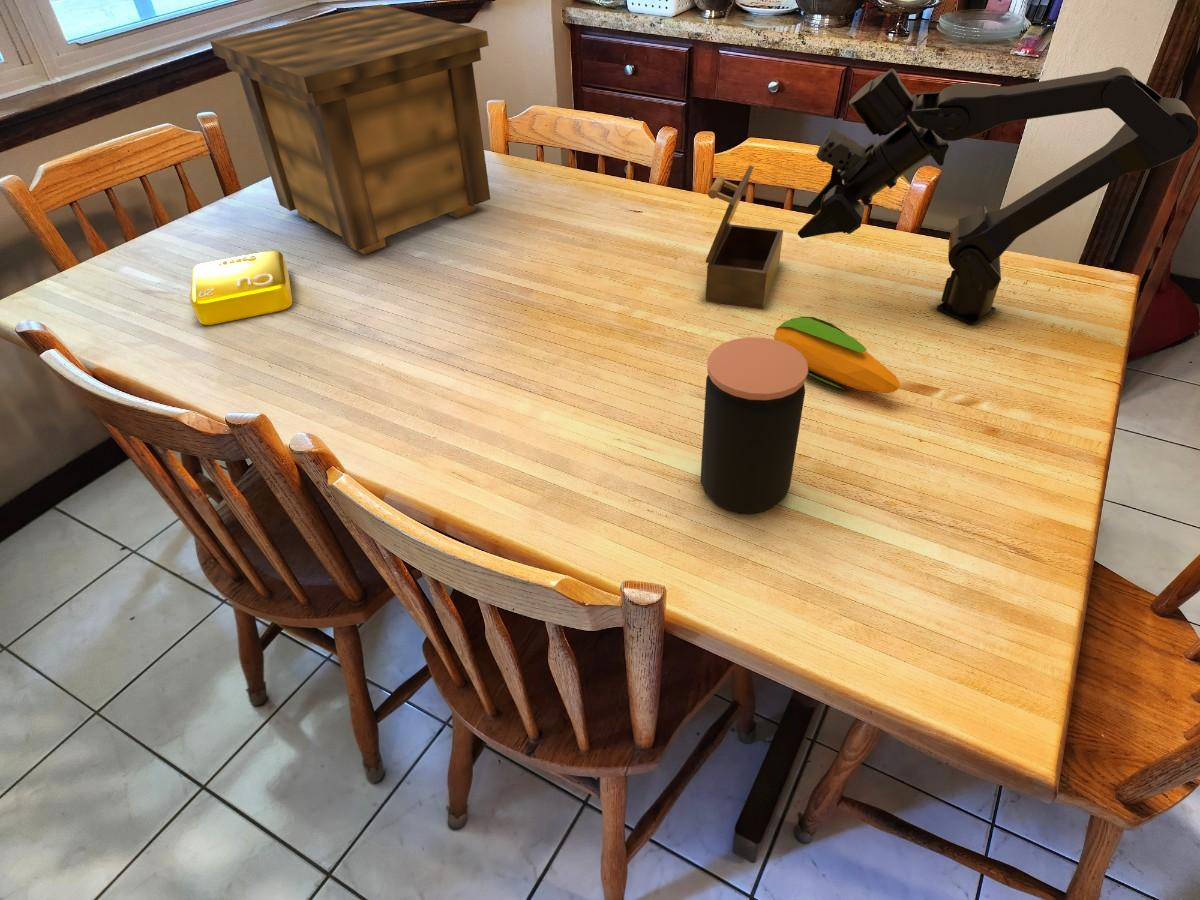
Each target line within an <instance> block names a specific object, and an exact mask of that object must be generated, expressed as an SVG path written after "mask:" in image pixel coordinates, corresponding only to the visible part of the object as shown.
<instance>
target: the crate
mask: <svg viewBox="0 0 1200 900" xmlns="http://www.w3.org/2000/svg"><path fill="white" fill-rule="evenodd" d="M488 36H489V35H488V31H487V30H484V29H480V28H476V27H472V26H469V25H464V24H461V23H456V22H453V21H448V20H444V19H441V18H436V17H433V16H430V15H429V16H428V15H425V14H421V13H417V12H413V11H410V10H409V11H408V10H404V9H401V8H397V7H393V6H389V5H385V4H377V5H371V6H367V7H362V8H358V9H352V10H348V11H343V12H339V13H334V14H329V15H325V16H320V17H315V18H311V19H306V20H302V21H296V22H291V23H287V24H282V25H278V26H274V27H269V28H264V29H260V30H254V31H250V32H246V33H241V34H236V35H231V36H226V37H223V38H222V37H221V38H218V39H213V40H210V41H209V42H210V45H211V49H212V51H213V55H214V56H215V57H218V58H220V59H222V60H225V63H226V66H227V69H228V70H229V71H232V72H235V73H237V74H238V76H239V80H240V83H241V86H242V89H243V92H244V95H245V98H246V101H247V104H248V108H249V111H250V113H251V118H252V120H253V124H254V128H255V130H256V133H257V137H258V139H259V143H260V146H261V149H262V152H263V156H264V159H265V162H266V165H267V169H268V172H269V175H270V178H271V182H272V185H273V187H274V191H275V195H276V198H277V201H278V203H279V206H281V207H283V208H284V209H286V210H288V211H289V212H292V211H295V210H296V211H297V214H298V215H299V216H300V217H301V218H302V219H304V220H306V221H308V222H309V223H311V222H314V221H315V222H317V223H318V224H320V225H322V226H323V227H324V228H327V229H328V230H330V231H331V232H333V233H334V234H336V235H338V236H340V237H341V238H342V241H343V244H344V245H346V246H347V247H348V248H351V249H352V250H354V251H356V252H359V253H361V255H364V256H365V255H367V254H369V253H372V252H376V251H378V250H380V249H383V248H384V247H387V244H386V239H385V238H386V237H388V236H392V235H394V234H396V233H400V232H402V231H404V230H406V229H407V230H408V229H409V228H412V227H415V226H418V225H420V224H423V223H425V222H429V221H430V220H433V219H436V218H438V217H440V216H443V215H445V214H447V215H449V216H451V217H453V218H455V219H458V218H462V217H464V216H466V215H469V214H471V213H474V212H476V211H477V210H476V206H477V205H479V204H482V203H484V202H487V201H490V200H491V193H490V186H489V178H488V171H487V170H488V169H487V163H486V156H485V148H484V140H483V133H482V124H481V117H480V110H479V103H478V102H479V101H478V95H477V87H476V79H475V71H474V65H473V63H476V62H480V61H482V56H481V49H482V48H485V47H489V46H490V44H489V37H488Z"/></svg>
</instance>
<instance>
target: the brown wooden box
mask: <svg viewBox="0 0 1200 900" xmlns="http://www.w3.org/2000/svg"><path fill="white" fill-rule="evenodd" d="M783 235H784V230H783V229H778V228H777V229H776V228H769V227H768V228H767V227H759V226H750V225H741V224H731V223H730V225H729V227H728V229H727V231H726V233H725V235H724V237H723V239H722V241H721V243H720V245H719V247H718V249H717V251H716V252H715V254H714V256H713V258H712V260H711V262H710V264H709V263H707V266H706V282H705V283H706V284H705V302H709V303H710V302H711V303H715V304H724V305H731V306H737V307H746V308H754V309H758V310H759V309H761V310H764V308H765V304H766V302H767V299H768V296H769V293H770V290H771V288H772V285H773V283H774V280H775V278H776V274H777V272H778V269H779V267H780V263H781V261H780V260H781V253H782V244H783V237H784V236H783Z"/></svg>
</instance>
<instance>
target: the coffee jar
mask: <svg viewBox="0 0 1200 900" xmlns="http://www.w3.org/2000/svg"><path fill="white" fill-rule="evenodd" d="M706 369H707V375H706V379H705V394H704V410H703V411H704V412H703V429H702V445H701V462H700V481H699V482H700V484H701V486H702V489H703V491H704V493H705V494H706V495H707V496H708V498H710V500H711V501H712V502H713V503H714V504H715V505H717V506H719V507H720V508H722V509H724V510H726V511H728V512H732V513H736V514H741V515H743V514H744V515H754V514H760V513H764V512H766V511H768V510H771V509H772V508H775V507H776V506H777V505H778V504H779V503H781V501H783V499H785V497H786V496H787V495H788V492H789V490H790V488H791V483H792V477H793V470H794V464H795V458H796V451H797V446H798V438H799V435H800V428H801V427H800V426H801V420H802V414H803V409H804V401H805V396H806V387H805V382H806V380H807V378H808V365H807V361H806V360H805V358H804V357H803V355H802V354H801V353H800V352H799V351H797V350H796V349H795V348H793V347H792V346H790V345H788V344H785V343H783V342H780V341H777V340H774V338H773V339H772V338H767V337H758V336H756V337H755V336H753V337H752V336H748V337H747V336H746V337H740V338H734V339H731V340H728V341H725V342H723V343H721V344H719V345H717V347H715V348H714V349H712V350H711V352H710V353H709V355H708V357H707V366H706Z"/></svg>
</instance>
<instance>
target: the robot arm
mask: <svg viewBox="0 0 1200 900" xmlns="http://www.w3.org/2000/svg"><path fill="white" fill-rule="evenodd" d="M848 105H849V106H850V107H851V109H852V110H853V111H854V112H855V114H856V115H857V117H858V118H859V119H860V120H861V122H863V125H865V126H866V128H867V129H868V131H869V132H870V133H871V134H872V136H875V135H878V136H879V137H881V136H884V137H885V136H886V137H885V138H884V139H882V140H881V141H880V142H878V143H877V142H876V141H874V142H870V143H868V144H867V145H866V146H863V145H861V144H859V143H858V142H857V141H855V140H854V139H852V138H851V137H849V136H847V135H845V134H843V133H842V132H841V131H839V130H837V129H834V128H830V129H829V132H828V133H827V134H826V136H825V138H824V139H823V141H822V142H821V144H820V145H819V147H818V150H817V152H816V158H817V159H818V160H819V161H821V162H822V163H827V164H828V165H830V166H832V167H831V174H830V179H829V180H828V181H827V182H826V183H825V185H824V186H823V187H822V188H821V190H820V191H819V192H818V193H817V194H816V196H814V198H813V199H812V200H811V201H810V202H809V204H808V205H807V206H806V208H805V209H806V211H807V213H809V214H813V213H815V214H814V215H813V216H812V217H811V218H810V219H809V220H807V222H806V223H805V224H804V225H803V226H802V227H801V228H800V229H799V230H798V231H797V235H798V237H799V238H800V239H806V238H812V237H817V236H823V235H829V234H839V233H842V234H848V235H851V234H852V233H854V232H856V231H857V230H858V229H860V228H861V227H862V222H863V218H864V212H865V207H867V206H868V205H869V204H871V203H872V201H873V198H874V196H875V195H877V194H878V193H880V192H881V191H883V190H884V189H885V188H887V187H888V188H889V189H892V188H893V187H895V186H896V185H897V183H898V179H900V178H901V177H902V176H904V175H905V174H907V173H908V172H909V171H911V170H912V169H914V168H915V167H917V166H918V165H919V164H921V163H922V162H924V161H925V160H927V158H929V157H930V156H931V157H932V159H933V161H934V162H935V163H936V164H937V165H938V166H939V167H942V166H944V165H945V158H946V154H947V152H948V150H949V149H950V142H957V141H960V140H964V139H967V138H970V137H973V136H977V135H980V134H983V133H986V132H987V131H989V130H992V129H994V128H996V127H998V126H1000V125H1004V124H1008V123H1011V122H1020V121H1025V120H1033V119H1039V118H1046V117H1054V116H1061V115H1068V114H1073V113H1083V112H1088V111H1094V110H1095V111H1096V110H1102V109H1109V110H1110V111H1111V112H1112V113H1114V114H1115V115H1116V116H1117V117H1118V118H1119V119H1120V120H1121V121H1122V122H1124V124H1123V125H1122V126H1121V127H1120V128H1119V130H1118V131H1117V132H1116V133H1115V134H1114V135H1113V136H1112V137H1111V138H1110V140H1109V141H1108V142H1107V143H1105V145H1103V146H1102V147H1100V148H1098V149H1097V150H1096V151H1094V152H1092V153H1091V154H1089V155H1087V156H1086V157H1083V158H1082V159H1080V160H1079V161H1078V162H1076V163H1075V164H1073V165H1071V166H1070V167H1068V168H1066V169H1065V170H1063V171H1061V172H1059V173H1058V174H1056V175H1055V176H1053V177H1052V178H1050V179H1048V180H1046V181H1045V182H1044V183H1042V184H1041V185H1039V186H1037V187H1036V188H1034V189H1033V190H1031V191H1029V192H1027V193H1025V194H1024V195H1022V196H1021V197H1019V198H1018V199H1016V200H1014V201H1013V202H1011V203H1009V204H1008V205H1006V206H1005V207H1002V208H1000V209H996V210H991V211H988V210H987V208H986V205H984V204H982V205H980V206H978V207H977V208H976V209H975V210H974V211H973V212H971V213H970V214H968V215H966V216H964V217H960V218H957V225H955V226H954V227H953V228H952V230H951V231H950V234H949V237H948V253H947V259H948V264H949V265H950V268H951V269H952V271H951V274H950V276H949V277H947V278H946V281H945V285H944V288H943V292H942V296H941V299H940V300H941V303H939V304H938V305H937V306H936V309H935V310H936V311H938V312H940V313H943V314H946V316H947V315H948V316H950V317H952V318H954V319H956V320H959V321H961V322H963V323H965V324H968V325H970V326H974V325H976V324H977V323H979V322H981V321H983V320H984V319H986V318H987V317H989V316H991V315H993V314H994V313H995V312H996V310H997V308H996V307H995V306H993V305H994V301H995V298H996V295H997V292H998V289H999V286H1000V282H1001V280H1002V271H1001V256H1002V255H1003V254H1004V253H1005V252H1006V251H1007V249H1009V247H1010V246H1011V245H1012V244H1013V243H1014V241H1016V239H1017V238H1019V237H1020V236H1022V235H1023V234H1025V233H1027V232H1029V231H1030V230H1032V229H1034V228H1036V227H1037V226H1039V225H1040V224H1042V223H1044V222H1046V221H1047V220H1049V219H1050V218H1053V217H1054V216H1057V214H1059V213H1061V212H1062V211H1064V210H1066V209H1068V208H1069V207H1071V206H1073V205H1075V204H1076V203H1078V202H1079V201H1081V200H1083V199H1084V198H1086V197H1088V196H1090V195H1092V194H1094V193H1095V192H1097V191H1099V190H1100V189H1102V188H1103V187H1105V186H1108V185H1109V184H1110V183H1112V182H1114V181H1115V180H1117V179H1119V178H1120V177H1123V176H1125V175H1128V174H1133V173H1138V172H1141V171H1146V170H1150V169H1151V170H1152V169H1153V168H1155V167H1158V166H1161V165H1163V164H1165V163H1168V162H1170V161H1172V160H1175V159H1177V158H1179V157H1181V156H1184V155H1185V154H1186V153H1187V152H1189V151H1190V150H1191V149H1192V148H1193V146H1194V145H1195V143H1196V140H1197V138H1198V136H1199V128H1200V127H1199V125H1198V121H1197V119H1196V118H1195V116H1194V114H1193V113H1192V112H1191V110H1190V108H1189V107H1188V105H1187V104H1186V103H1185V102H1184V101H1183V100H1181V99H1178V98H1176V97H1174V98H1173V97H1163V96H1161V95H1160V94H1159V93H1158V92H1157V91H1156V90H1154V89H1153V88H1151V87H1150V86H1149V85H1147V84H1146V83H1144V82H1142V81H1141V80H1139V79H1138V78H1137V77H1135V76H1134V75H1133V73H1132V71H1130V70H1129V68H1126V67H1123V66H1115V67H1111V68H1109V69H1106V70H1102V71H1096V72H1090V73H1083V74H1078V75H1072V76H1066V77H1059V78H1052V79H1047V80H1041V81H1035V82H1027V83H1022V84H1015V85H1010V86H1000V85H999V86H998V85H991V84H984V83H955V84H952V85H951V84H950V85H948V86H946V87H944V88H943V89H942V90H941V91H931V92H921V93H920V92H918V93H913V94H911V93H910V91H909V90H908V89H907V87H906V86H905V85H904V83H903V82H902V81H901V79H900V76H899V73H897V71H896V70H895V68H889V70H887V71H886V72H885V73H882V74H880V75H879V76H877V77H876V78H874V79H870V80H869V81H868V82H866V84H864V85H863V86H862V87H861V88H860V89H859V90H858V91H856V93H855V94H854V95H853V96H852V97H851V98H850V100H849V101H848ZM860 201H861V202H862V203H860ZM862 204H863V205H864V206H863V205H862Z"/></svg>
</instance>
